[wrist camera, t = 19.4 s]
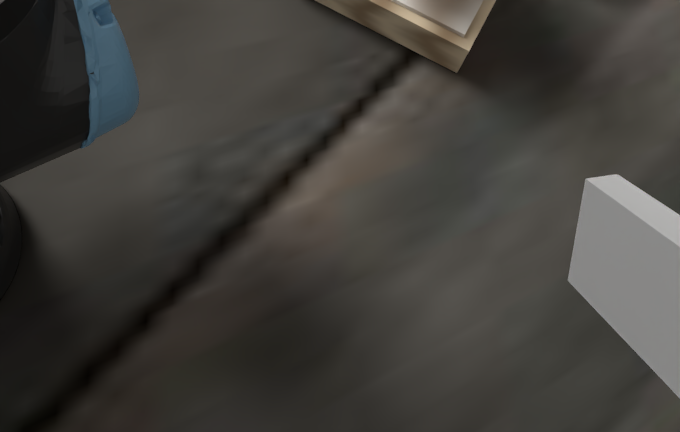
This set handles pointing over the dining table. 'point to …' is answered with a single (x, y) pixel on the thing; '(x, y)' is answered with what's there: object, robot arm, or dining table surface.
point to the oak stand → (422, 24)
